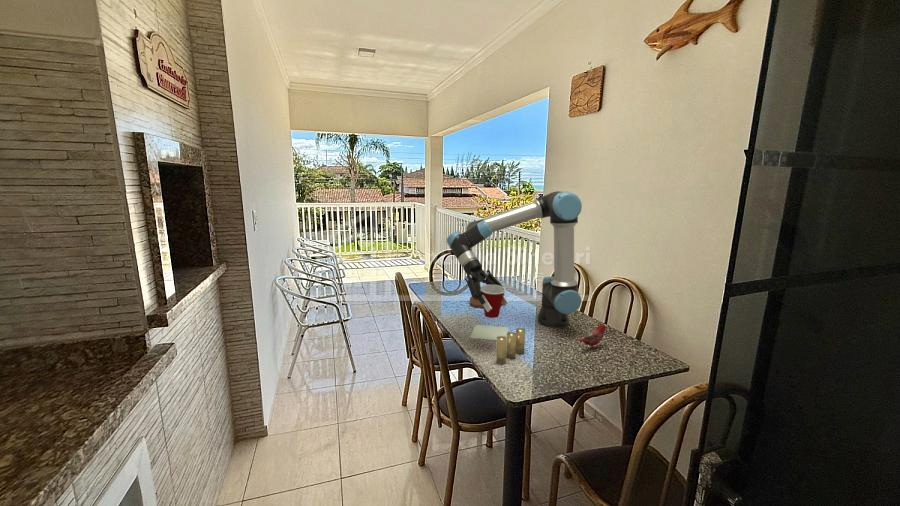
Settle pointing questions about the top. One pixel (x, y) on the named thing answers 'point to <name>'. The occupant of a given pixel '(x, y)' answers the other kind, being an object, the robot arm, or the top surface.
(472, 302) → the plant
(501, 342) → the spacer posts
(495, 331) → the mat
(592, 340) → the decorative bird figurine
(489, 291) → the plastic cup
